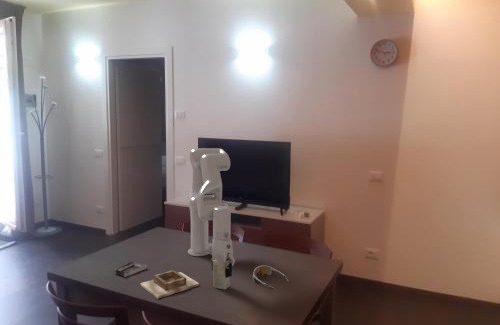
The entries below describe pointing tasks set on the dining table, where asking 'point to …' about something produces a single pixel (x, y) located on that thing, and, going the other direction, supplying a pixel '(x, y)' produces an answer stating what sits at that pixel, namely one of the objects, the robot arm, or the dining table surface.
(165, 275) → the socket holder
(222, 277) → the skincare box
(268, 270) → the sunglasses
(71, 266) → the dining table surface
